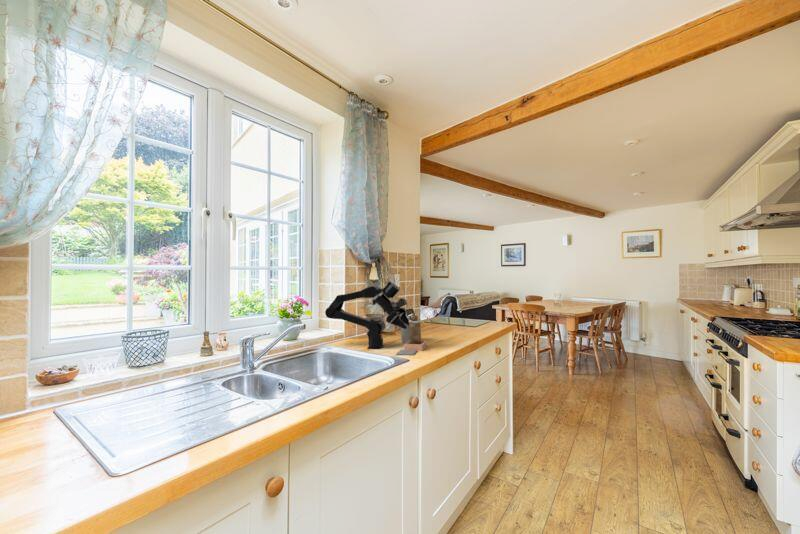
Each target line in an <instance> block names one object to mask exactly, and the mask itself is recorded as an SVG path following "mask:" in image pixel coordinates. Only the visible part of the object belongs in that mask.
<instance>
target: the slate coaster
mask: <svg viewBox="0 0 800 534" xmlns="http://www.w3.org/2000/svg"><path fill="white" fill-rule="evenodd" d="M417 352H418V351H417V350H405V349H399V351H398V352H396V356H415V354H416V353H417Z"/></svg>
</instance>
